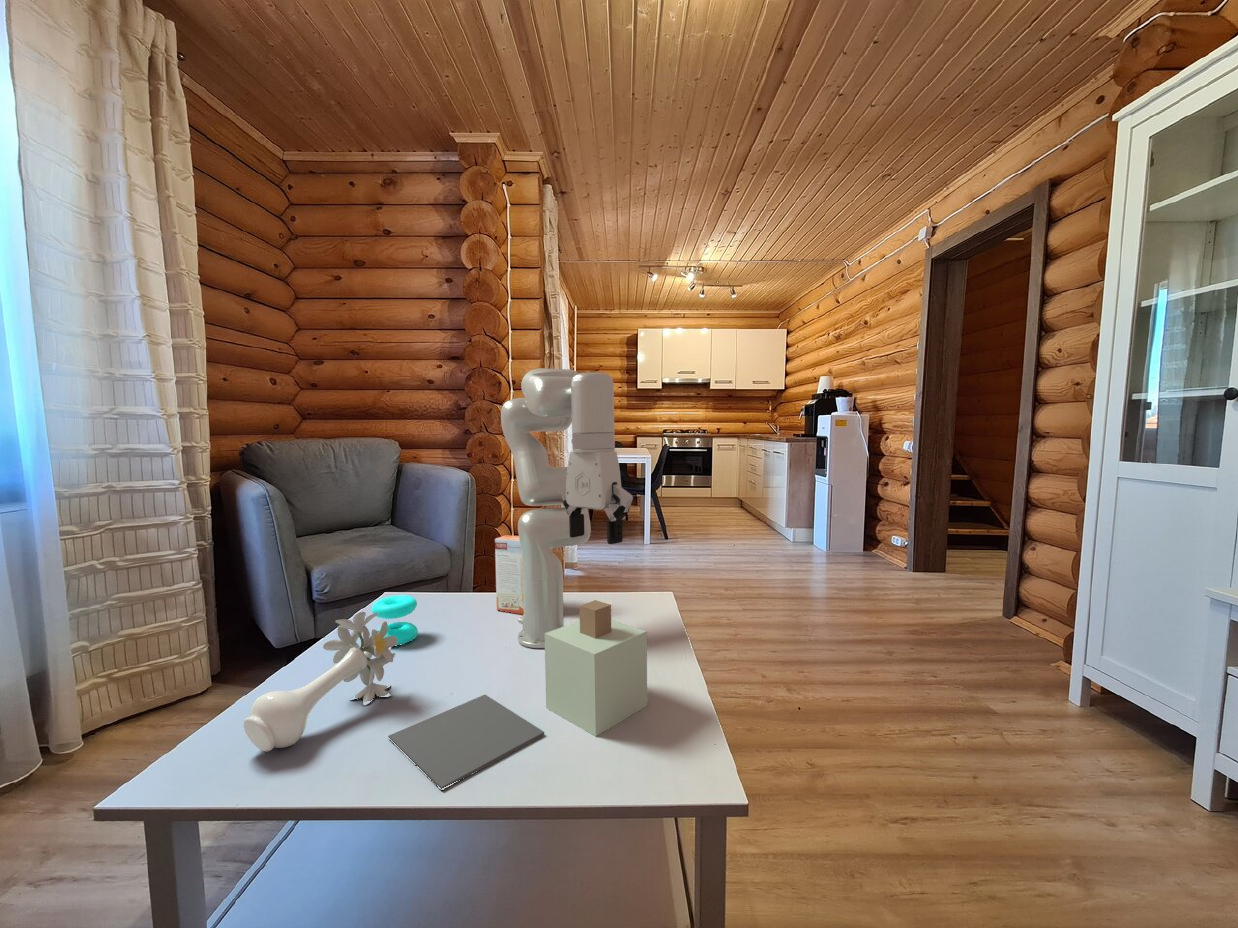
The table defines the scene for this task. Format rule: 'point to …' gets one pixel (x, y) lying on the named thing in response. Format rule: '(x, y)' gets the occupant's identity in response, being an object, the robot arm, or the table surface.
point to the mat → (465, 739)
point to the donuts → (397, 616)
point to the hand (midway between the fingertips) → (595, 539)
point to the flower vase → (322, 684)
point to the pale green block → (596, 669)
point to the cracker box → (509, 574)
